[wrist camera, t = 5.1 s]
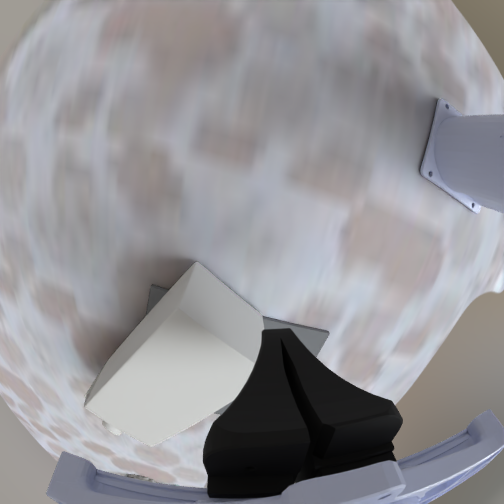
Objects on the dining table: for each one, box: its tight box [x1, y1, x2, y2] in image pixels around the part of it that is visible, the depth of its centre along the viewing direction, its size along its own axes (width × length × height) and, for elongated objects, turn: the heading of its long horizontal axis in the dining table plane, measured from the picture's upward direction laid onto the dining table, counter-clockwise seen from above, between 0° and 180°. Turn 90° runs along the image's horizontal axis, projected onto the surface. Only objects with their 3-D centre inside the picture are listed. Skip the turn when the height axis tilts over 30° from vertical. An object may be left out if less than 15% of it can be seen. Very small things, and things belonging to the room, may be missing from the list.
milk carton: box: [84, 262, 264, 447], centre depth 20 cm, size 7×7×19 cm
